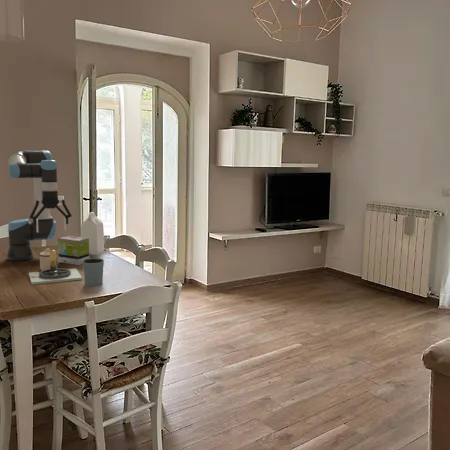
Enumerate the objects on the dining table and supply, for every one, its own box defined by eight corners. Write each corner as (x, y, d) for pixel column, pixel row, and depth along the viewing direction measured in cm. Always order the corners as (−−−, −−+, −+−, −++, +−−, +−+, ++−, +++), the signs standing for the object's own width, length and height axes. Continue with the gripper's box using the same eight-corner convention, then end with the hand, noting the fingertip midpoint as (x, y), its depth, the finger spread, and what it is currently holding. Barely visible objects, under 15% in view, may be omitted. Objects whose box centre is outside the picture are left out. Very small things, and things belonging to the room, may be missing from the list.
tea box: (58, 262, 275) (57, 238, 272) (69, 259, 284) (68, 235, 282) (78, 265, 269) (78, 240, 267) (90, 261, 278) (89, 237, 276)
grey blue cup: (96, 280, 240) (95, 257, 238) (108, 283, 234) (108, 260, 232) (79, 284, 232) (78, 260, 230) (91, 288, 226) (90, 263, 224)
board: (28, 274, 247) (28, 272, 247) (76, 270, 258) (75, 268, 258) (31, 284, 230) (31, 282, 229) (82, 279, 240) (82, 277, 240)
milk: (88, 250, 310) (87, 211, 306) (104, 250, 309) (104, 211, 304) (80, 254, 298) (79, 213, 294) (97, 254, 297) (96, 214, 293)
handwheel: (72, 276, 240) (71, 255, 238) (40, 279, 234) (39, 257, 232) (67, 269, 254) (67, 248, 253) (37, 271, 248) (36, 251, 246)
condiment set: (56, 270, 257) (56, 250, 255) (39, 271, 254) (38, 250, 252) (58, 265, 268) (57, 245, 266) (41, 266, 266) (40, 246, 264)
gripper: (23, 191, 232) (26, 233, 235) (76, 190, 243) (77, 230, 246) (23, 190, 239) (25, 231, 242) (74, 189, 250) (75, 228, 253)
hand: (51, 231), depth 244 cm, fingers open, 13 cm apart
